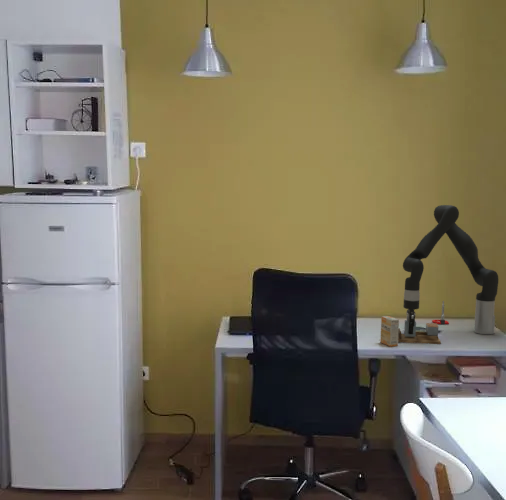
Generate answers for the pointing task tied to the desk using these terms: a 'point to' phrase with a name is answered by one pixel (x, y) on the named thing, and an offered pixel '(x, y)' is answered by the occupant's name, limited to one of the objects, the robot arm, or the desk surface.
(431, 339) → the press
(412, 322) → the block
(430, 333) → the grey cube
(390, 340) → the supplement box
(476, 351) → the desk surface
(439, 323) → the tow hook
